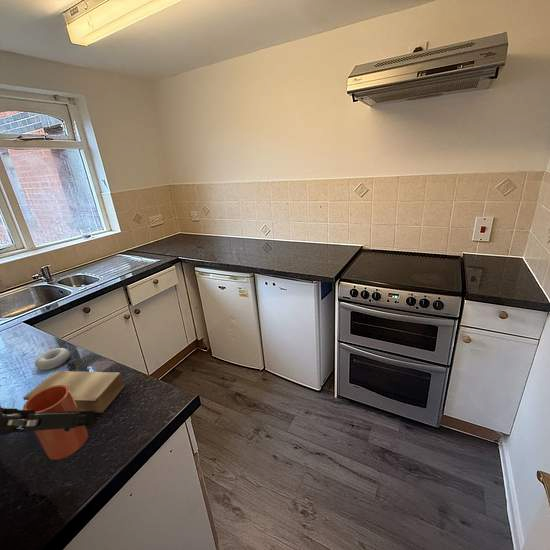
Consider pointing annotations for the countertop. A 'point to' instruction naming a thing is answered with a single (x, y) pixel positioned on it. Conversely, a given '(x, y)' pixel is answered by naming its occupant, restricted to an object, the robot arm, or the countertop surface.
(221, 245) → the countertop surface
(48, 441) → the cup
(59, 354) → the donut
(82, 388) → the wooden block
